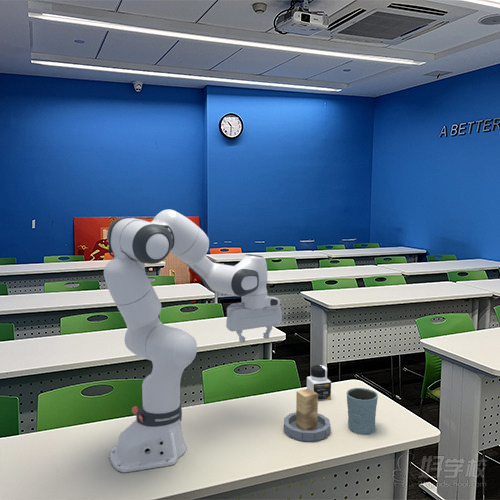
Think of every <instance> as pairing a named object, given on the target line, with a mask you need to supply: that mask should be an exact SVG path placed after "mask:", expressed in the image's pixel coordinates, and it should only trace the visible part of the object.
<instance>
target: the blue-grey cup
mask: <svg viewBox="0 0 500 500" xmlns="http://www.w3.org/2000/svg"><path fill="white" fill-rule="evenodd" d="M378 395H379V394H378V393H377V392H376V391H375V390H372V389H369V388H362V387H354V388H351V389H350V388H349V389H347V391H346V405H347V406H346V407H347V416H348V417H347V418H348V419H347V423H348V424H347V426H348V427H347V428H348V430H349V431H351V432H353V433H354V434H357V435H370V434H373V433H374V431H375V429H376V416H377V414H376V413H377V404H378V399H379V396H378Z"/></svg>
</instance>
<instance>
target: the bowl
mask: <svg viewBox="0 0 500 500" xmlns="http://www.w3.org/2000/svg"><path fill="white" fill-rule="evenodd" d="M283 431H284V433H285V435H286V436H288V437H289V438H290V439H293V440H295V441H298V442H304V443H305V442H307V443H311V442H312V443H314V442H319V441H322V440H325V439H327V438H328V437H329V436H330V433H331V421H330V419H329V418H328V417H326V416H325V415H324V414H322V413H319V412H318V417H317V429H315V430H312V431H308V430H301V429H299V428H298V427H297V426H296V412H295V411H294V412H292V413H289V414H287V415H286V416H285V417H284V418H283Z"/></svg>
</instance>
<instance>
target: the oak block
mask: <svg viewBox="0 0 500 500" xmlns="http://www.w3.org/2000/svg"><path fill="white" fill-rule="evenodd" d="M295 396H296V397H295V398H296V399H295V400H296V404H295V405H296V406H295V407H296V409H295V411H296V426H297V427H298V428H299V429H301V430H308V431H312V430H315V429H317V417H318V413H319V412H318V411H319V407H318V404H319V401H318V394H317V393H316V392H314V391H312V390H311V389H307V388H305V389H300V390H297V391H296V395H295Z"/></svg>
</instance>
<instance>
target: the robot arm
mask: <svg viewBox="0 0 500 500" xmlns="http://www.w3.org/2000/svg"><path fill="white" fill-rule="evenodd" d="M106 233H107V234H106V236H107V244H108V253H109V254H108V255H110V257H112V259H111V260H109V261H108V263H106V265H105V266H104V268H103V277H104V280H105V283H106V287H107V290H108V292H109V294H110V296H111V298H112V300H113V302H114V303H115V305H116V307H117V309H118V311H119V313H120V315H121V316H122V318H123V320H124V322H125V325H126V328H127V329H126V332H125V335H124V345H125V347H126V348H127V349H128V350H129V351H130V352H131V353H133V354H134V355H135V356H137V357H139V358H142V359H146V360H148V361H151V363H152V371H151V373H150V374H148V375H147V376H146V377H144V379H143V381H142V384H141V389H142V390H141V391H142V396H141V397H142V405H141V407H140V408H139V407H138V406H137V405H135V406H132V408H131V412H132V413H133V415H135V416H136V417H135V420H134V421H133V422H132V423H131V424H129V425H128V426H127V427H126V428H125V429H123V431H121V433H120V434H119V437H118V440H117V445H116V446H114V447H112V448H111V449H110V452H109V461H110V464H111V465H112V466H113V467H114V469H115V470H116V471H119V472H121V473H129V472H136V471H137V472H138V471H143V470H148V469H155V468H161V467H168V466H173V465H175V464H176V463H177V461H178V459H179V458H180V457H182V455H184V453H186V451H187V445H186V442H185V438H184V434H183V430H182V429H183V428H182V417H183V409H182V403H181V399H180V398H181V379H182V375H183V373H184V370H185V369H186V367H188V366H189V365H191V364H192V362H193V361H194V359H196V355H197V352H198V344H197V340H196V339H195V337H194V336H193V335H192V334H190V333H188V332H186V331H185V330H183V329H180V328H177V327H173V326H169V325H165V323H163V322H162V321H161V320H160V318H159V315H160V314H161V311H162V303H161V300H160V298H159V297H158V295H157V292H156V291H155V288H154V287H153V285H152V282H151V281H150V279H149V277H148V276H147V273H146V267H145V266H146V265H145V264H147V265H154V264H159V263H161V262H163V261H164V260H165V259H166V258H167V257H168V256H169V255H170V253H171V254H172V255H173V256H175V257H176V258H178V259H179V260H180V261H182V262H183V263H184V264H185V265H186V266H187V267H188V268H189V269H191V271H193V272H194V273H195V274H196V275H198V276H199V278H200V279H201V281H202V283H203V285H204V286H205V288H206V289H207V290H208V291H209V292H211V293H219V294H224V295H229V296H234V297H241V302H236V303H230V305H228V306H227V307H226V321H225V322H226V324H225V326H226V329H227V330H228V331H230V332H235V333H236V335H237V336H238V340H239V341H238V342H239V343H241V344H242V343H246V337H245V336H243V335H242V334H243V331H244V330H252V329H253V330H254V329H259V328H266V330H265V332H263V333H262V335H263V337H262V338H263V339H264V340H267V339H270V334H271V331H272V330H273V326H279V325H281V323H282V321H283V313H282V308H281V300H280V299H279V298H278V297H275V296H271V295H269V294H268V289H267V283H268V266H267V265H268V264H267V260H266V258H265V257H264V256H262V255H258V254H250V253H246V254H244V255H243V257H242V259H241V260H240V261H239V262H238V263H237V264H235V265H229V264H223V263H220V262H219V263H218V262H213V261H212V260H210V259H209V258H208V257H207V253H208V251H209V249H210V248H209V247H210V238H209V236H208V235H207V233H205V231H204V230H203V229H202V228H201V227H200V226H198V225H197V224H196V223H195V222H194V221H192V220H191V219H189V218H188V217H187V216H185V215H183V214H182V213H180V212H178V211H176V210H174V209H163V210H161V211H160V212H159V213H157V214H156V215H155V216H154V218H153V220H151V221H147V220H144V219H141V218H135V217H130V216H124V217H119V218H117V219H115V220H114V221H112V222H111V223H110V225H109V226H108V229H107V232H106Z"/></svg>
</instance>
